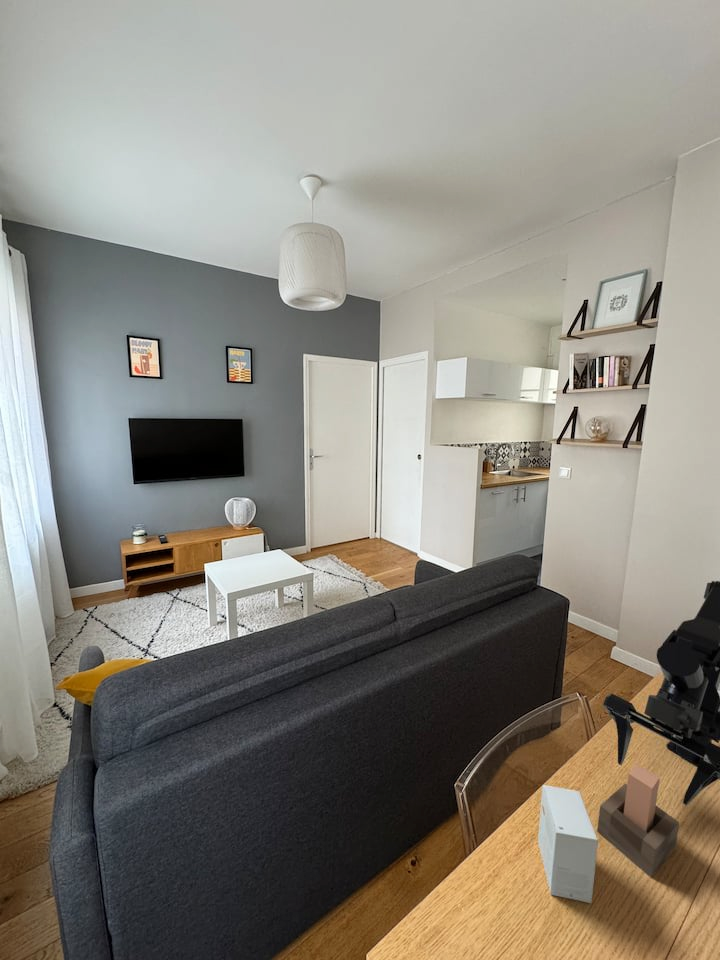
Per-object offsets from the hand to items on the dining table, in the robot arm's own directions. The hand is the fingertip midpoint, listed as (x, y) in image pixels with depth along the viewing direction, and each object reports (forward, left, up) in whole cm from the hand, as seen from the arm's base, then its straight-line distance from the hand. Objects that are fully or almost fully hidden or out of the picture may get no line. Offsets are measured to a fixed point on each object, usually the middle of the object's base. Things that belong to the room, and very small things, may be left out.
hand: (650, 783), depth 67 cm
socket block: (+4, 0, -8) cm, 9 cm away
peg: (+4, 0, -7) cm, 8 cm away
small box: (+18, -3, -9) cm, 20 cm away
